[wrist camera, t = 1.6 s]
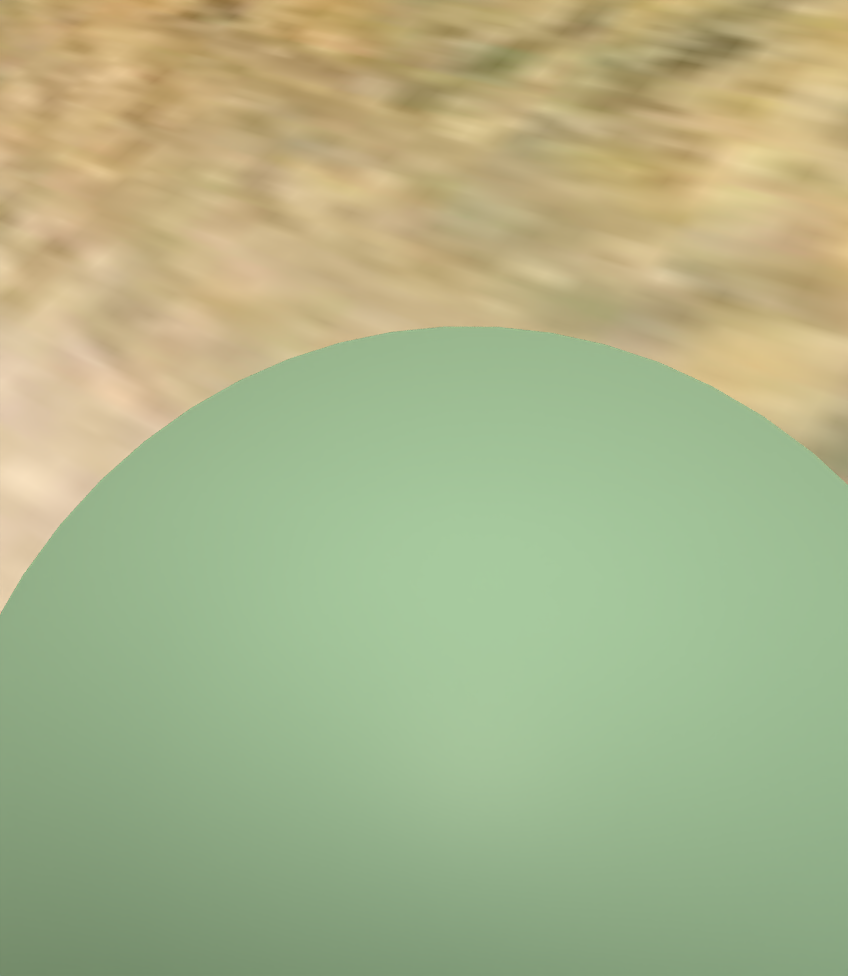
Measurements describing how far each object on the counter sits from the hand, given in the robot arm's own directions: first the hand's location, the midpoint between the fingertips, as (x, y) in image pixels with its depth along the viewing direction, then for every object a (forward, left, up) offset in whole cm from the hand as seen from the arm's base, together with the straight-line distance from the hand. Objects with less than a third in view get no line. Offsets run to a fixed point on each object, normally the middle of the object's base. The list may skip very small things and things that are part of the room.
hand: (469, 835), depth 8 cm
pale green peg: (0, 0, -9) cm, 9 cm away
